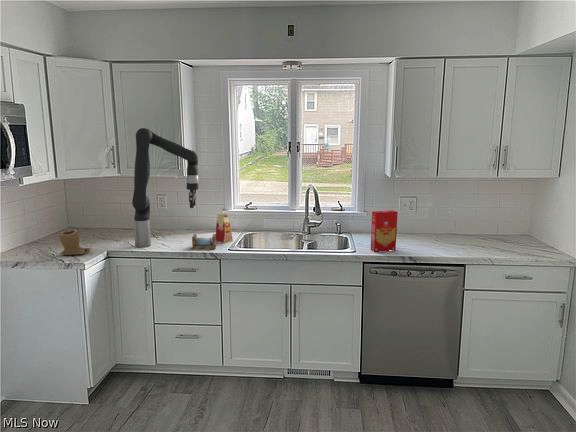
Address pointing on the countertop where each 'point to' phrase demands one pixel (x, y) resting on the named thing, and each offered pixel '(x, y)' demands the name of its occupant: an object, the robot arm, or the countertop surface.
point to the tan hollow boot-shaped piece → (72, 243)
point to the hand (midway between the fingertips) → (192, 206)
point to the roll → (204, 241)
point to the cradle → (195, 247)
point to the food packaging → (383, 230)
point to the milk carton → (223, 229)
